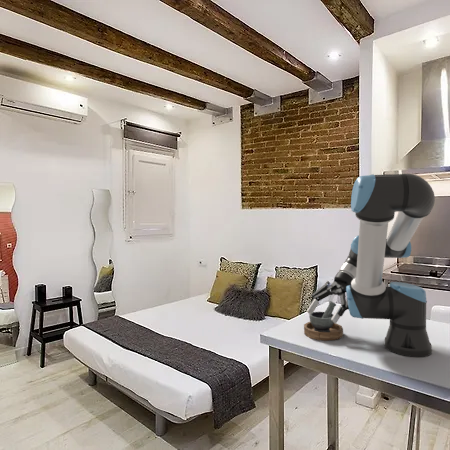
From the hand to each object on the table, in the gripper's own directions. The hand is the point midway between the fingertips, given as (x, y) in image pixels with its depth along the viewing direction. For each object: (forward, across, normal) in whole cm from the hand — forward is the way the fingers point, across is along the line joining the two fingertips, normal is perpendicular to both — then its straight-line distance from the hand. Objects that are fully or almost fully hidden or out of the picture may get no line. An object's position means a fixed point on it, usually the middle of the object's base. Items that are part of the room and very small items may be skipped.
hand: (320, 317), depth 142 cm
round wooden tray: (+4, 0, -6) cm, 7 cm away
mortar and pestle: (+4, 0, -5) cm, 6 cm away
